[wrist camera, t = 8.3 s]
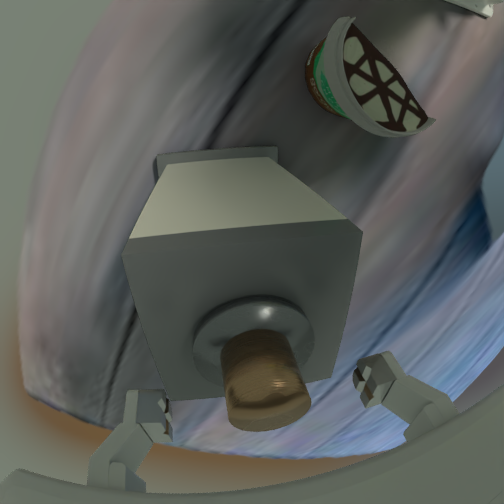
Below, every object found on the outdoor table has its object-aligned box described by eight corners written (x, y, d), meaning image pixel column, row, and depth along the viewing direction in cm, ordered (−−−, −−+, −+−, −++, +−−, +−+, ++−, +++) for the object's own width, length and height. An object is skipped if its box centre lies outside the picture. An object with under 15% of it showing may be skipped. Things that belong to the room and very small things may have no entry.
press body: (275, 145, 28) (384, 209, 12) (274, 248, 34) (341, 382, 17) (157, 154, 27) (92, 234, 10) (171, 259, 32) (159, 409, 16)
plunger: (261, 181, 25) (377, 333, 9) (262, 252, 28) (337, 430, 12) (181, 188, 24) (154, 368, 8) (189, 259, 27) (195, 454, 11)
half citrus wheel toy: (268, 73, 25) (301, 58, 16) (305, 36, 23) (350, 11, 14) (348, 149, 30) (402, 170, 21) (380, 114, 28) (439, 124, 20)
